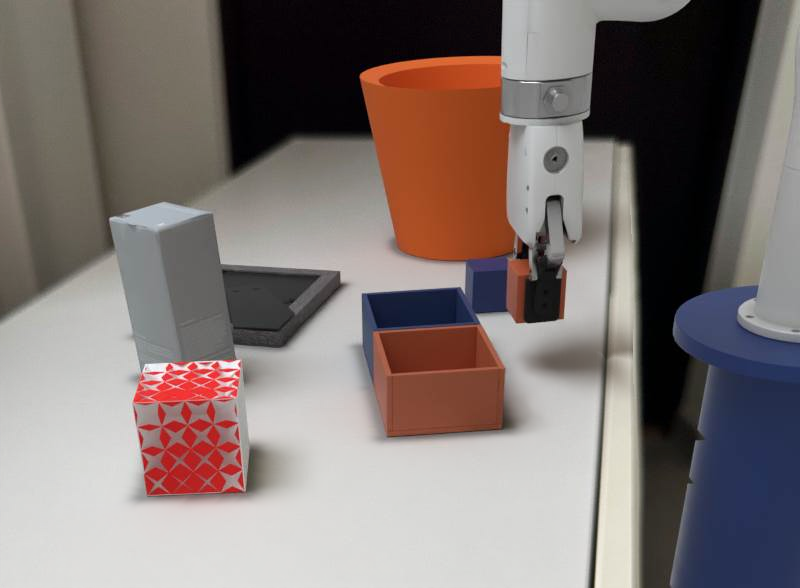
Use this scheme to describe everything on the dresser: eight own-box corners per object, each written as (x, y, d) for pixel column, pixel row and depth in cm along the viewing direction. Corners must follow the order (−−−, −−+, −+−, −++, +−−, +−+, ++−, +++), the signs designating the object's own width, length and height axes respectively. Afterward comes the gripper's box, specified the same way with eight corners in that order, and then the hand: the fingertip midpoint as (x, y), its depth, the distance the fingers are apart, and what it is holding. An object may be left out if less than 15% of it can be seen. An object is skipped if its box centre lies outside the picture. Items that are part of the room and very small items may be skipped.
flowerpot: (585, 227, 140) (602, 59, 128) (507, 282, 123) (518, 94, 112) (419, 209, 151) (420, 53, 140) (326, 256, 135) (319, 84, 123)
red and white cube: (245, 491, 84) (236, 398, 79) (147, 496, 84) (132, 403, 79) (249, 447, 90) (241, 358, 86) (158, 452, 90) (145, 363, 86)
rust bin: (478, 381, 100) (481, 324, 97) (501, 429, 91) (505, 368, 88) (373, 388, 100) (372, 331, 96) (386, 436, 91) (386, 376, 88)
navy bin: (458, 340, 109) (460, 286, 105) (478, 380, 100) (480, 323, 97) (362, 346, 108) (361, 293, 105) (373, 387, 100) (372, 330, 96)
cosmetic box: (240, 381, 102) (224, 210, 93) (180, 402, 99) (157, 227, 89) (190, 359, 108) (170, 195, 98) (131, 379, 104) (105, 211, 95)
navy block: (503, 297, 119) (506, 256, 116) (512, 310, 115) (515, 268, 113) (464, 300, 119) (466, 259, 116) (471, 313, 115) (473, 271, 112)
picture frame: (279, 347, 109) (340, 284, 125) (277, 328, 108) (340, 267, 124) (140, 336, 114) (217, 276, 130) (138, 317, 113) (215, 260, 129)
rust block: (552, 303, 102) (555, 255, 99) (563, 319, 98) (567, 270, 95) (506, 307, 101) (507, 260, 99) (516, 324, 98) (517, 275, 95)
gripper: (618, 112, 82) (598, 340, 93) (564, 78, 96) (552, 279, 106) (522, 121, 82) (514, 348, 93) (482, 85, 96) (478, 286, 106)
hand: (534, 309), depth 99 cm, fingers closed on rust block, 4 cm apart
